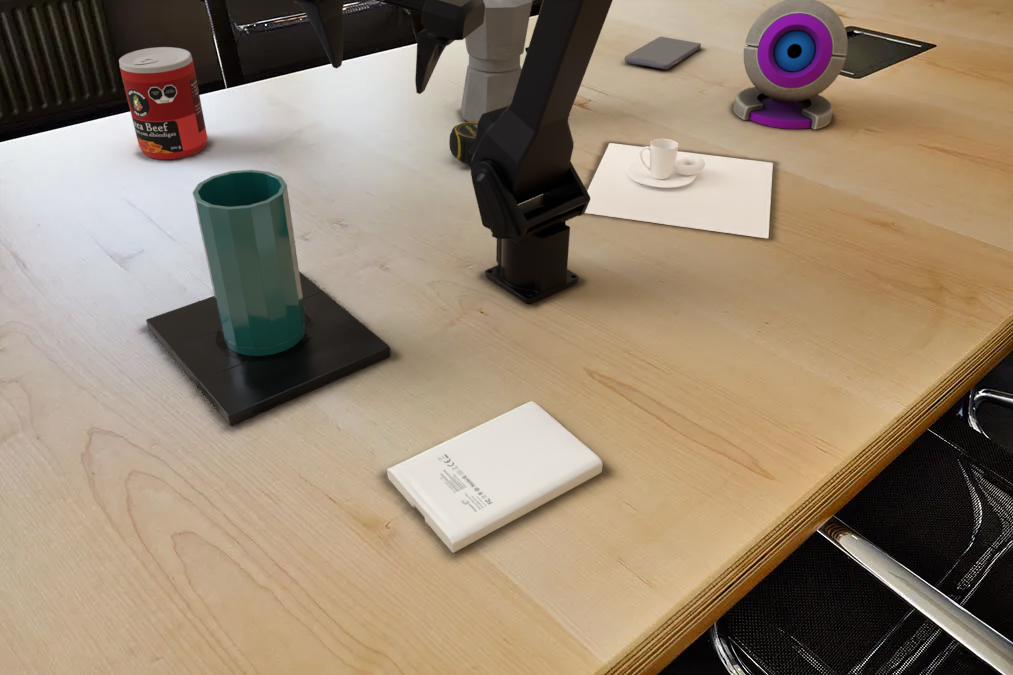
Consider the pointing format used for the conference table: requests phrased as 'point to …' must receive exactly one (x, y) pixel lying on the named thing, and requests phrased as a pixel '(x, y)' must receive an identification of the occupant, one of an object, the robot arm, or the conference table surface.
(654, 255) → the conference table surface
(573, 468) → the hard drive
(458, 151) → the tape measure
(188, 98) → the canned food
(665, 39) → the smartphone
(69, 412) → the conference table surface
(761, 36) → the webcam
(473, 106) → the coffeepot
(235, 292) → the tumbler
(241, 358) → the drain plate
